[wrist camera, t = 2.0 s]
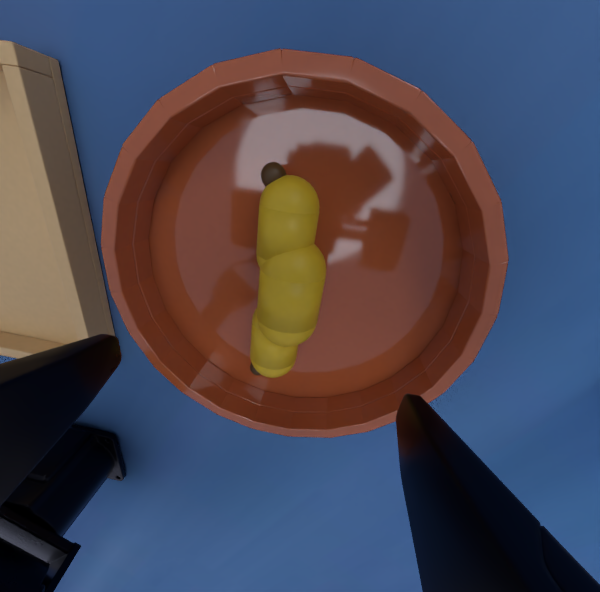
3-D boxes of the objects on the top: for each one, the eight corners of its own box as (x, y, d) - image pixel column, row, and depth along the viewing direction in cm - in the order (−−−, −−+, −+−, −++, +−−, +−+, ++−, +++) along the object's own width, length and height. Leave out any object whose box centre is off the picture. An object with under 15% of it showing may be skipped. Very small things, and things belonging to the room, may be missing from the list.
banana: (308, 368, 17) (301, 406, 14) (255, 357, 18) (238, 393, 15) (344, 172, 12) (346, 171, 9) (269, 161, 12) (248, 157, 10)
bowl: (407, 420, 19) (420, 464, 16) (161, 370, 20) (131, 403, 17) (545, 109, 11) (619, 86, 8) (122, 57, 12) (54, 21, 9)
